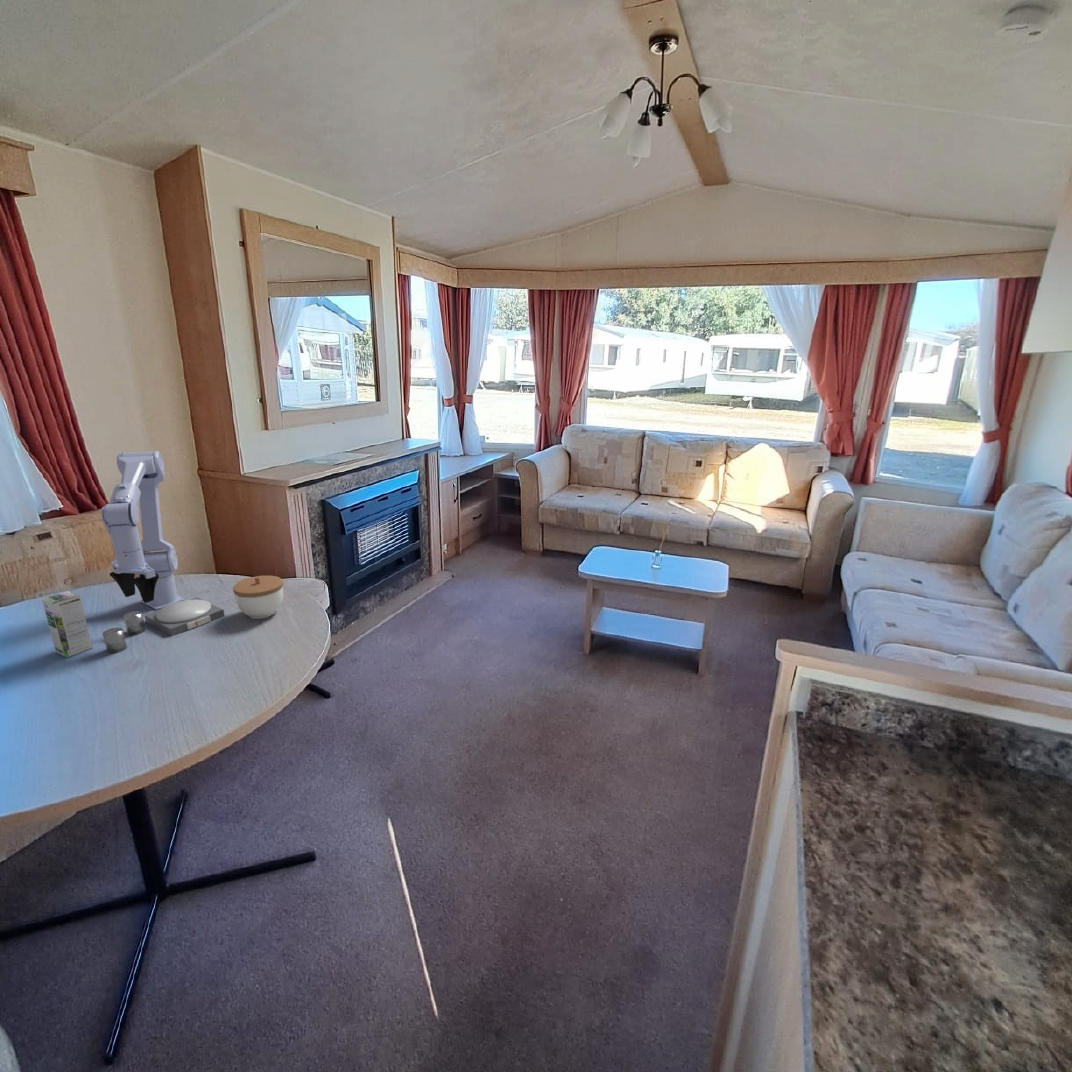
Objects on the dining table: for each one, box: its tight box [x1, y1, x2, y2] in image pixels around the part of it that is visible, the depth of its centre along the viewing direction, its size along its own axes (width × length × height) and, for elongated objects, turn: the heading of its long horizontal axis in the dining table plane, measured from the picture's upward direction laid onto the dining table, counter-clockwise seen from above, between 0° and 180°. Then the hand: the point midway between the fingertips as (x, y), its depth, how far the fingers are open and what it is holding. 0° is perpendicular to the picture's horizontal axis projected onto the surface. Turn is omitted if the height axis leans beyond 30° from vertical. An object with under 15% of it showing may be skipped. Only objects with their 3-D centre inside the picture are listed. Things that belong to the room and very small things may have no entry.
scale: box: [143, 597, 225, 637], centre depth 156 cm, size 15×14×3 cm
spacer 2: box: [123, 610, 146, 636], centre depth 149 cm, size 4×4×5 cm
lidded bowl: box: [232, 575, 284, 620], centre depth 159 cm, size 13×13×11 cm
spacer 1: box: [102, 627, 128, 654], centre depth 140 cm, size 4×4×5 cm
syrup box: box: [41, 590, 93, 658], centre depth 138 cm, size 6×6×14 cm
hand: (139, 598), depth 147 cm, fingers open, 7 cm apart
